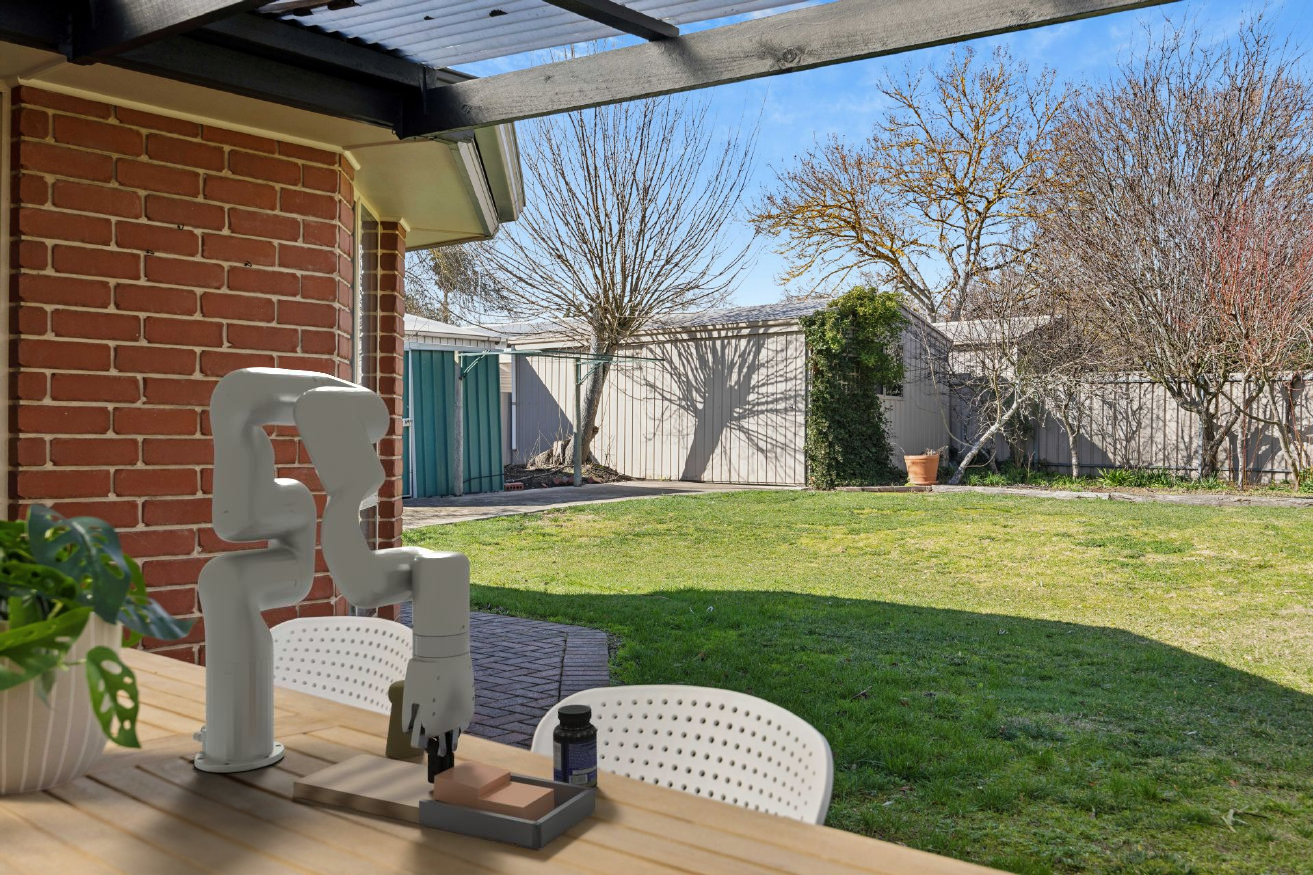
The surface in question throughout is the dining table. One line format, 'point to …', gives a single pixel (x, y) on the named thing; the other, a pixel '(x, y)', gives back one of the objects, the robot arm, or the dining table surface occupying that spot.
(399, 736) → the cork
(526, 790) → the tile front
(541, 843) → the tray
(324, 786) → the board
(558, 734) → the pill bottle
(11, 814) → the dining table surface
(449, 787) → the tile rear
